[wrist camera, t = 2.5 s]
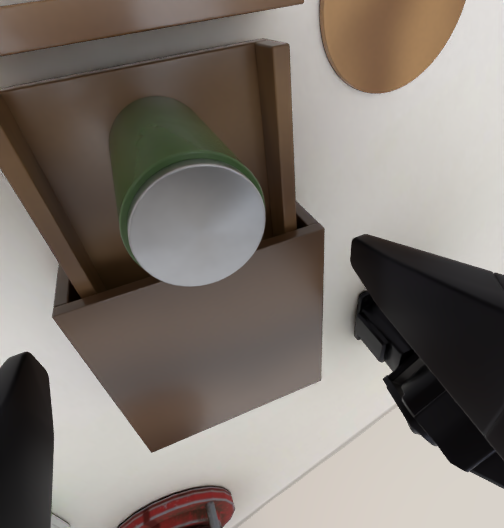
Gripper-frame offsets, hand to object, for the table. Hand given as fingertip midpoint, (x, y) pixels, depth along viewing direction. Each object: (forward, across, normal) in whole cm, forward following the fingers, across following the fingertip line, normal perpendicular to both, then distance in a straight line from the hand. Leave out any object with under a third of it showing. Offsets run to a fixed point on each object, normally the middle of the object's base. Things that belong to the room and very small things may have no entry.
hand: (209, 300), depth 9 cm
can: (+10, 0, -1) cm, 10 cm away
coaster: (+12, -14, -5) cm, 19 cm away
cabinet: (+12, 0, +12) cm, 17 cm away
